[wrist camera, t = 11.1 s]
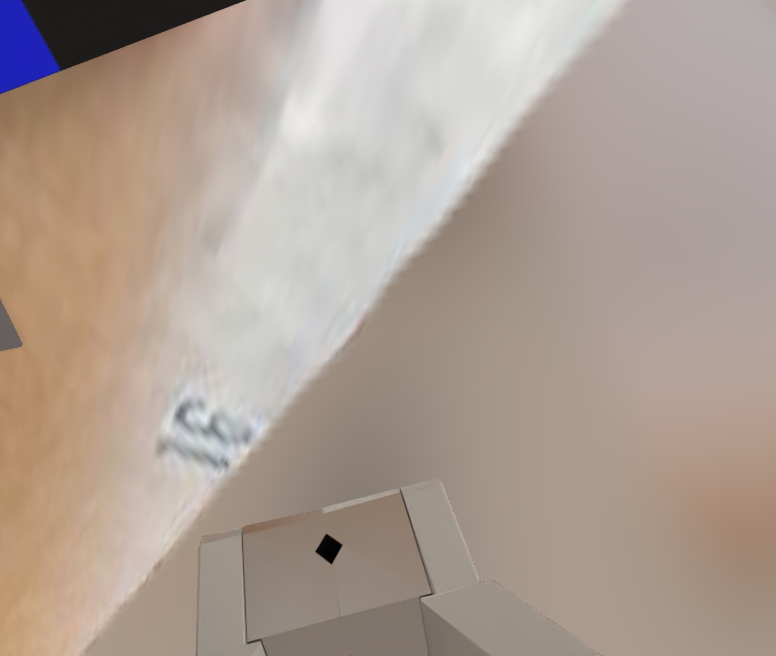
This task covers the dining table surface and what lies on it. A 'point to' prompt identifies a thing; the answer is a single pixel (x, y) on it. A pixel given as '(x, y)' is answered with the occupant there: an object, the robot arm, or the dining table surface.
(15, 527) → the dining table surface
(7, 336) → the mark
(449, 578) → the robot arm
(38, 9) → the puzzle toy
